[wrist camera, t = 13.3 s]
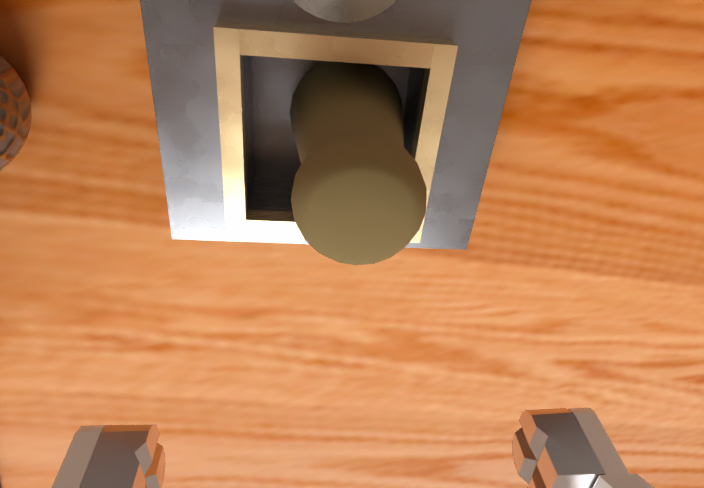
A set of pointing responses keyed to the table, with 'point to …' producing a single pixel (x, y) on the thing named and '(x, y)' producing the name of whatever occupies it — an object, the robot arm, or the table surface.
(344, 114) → the cork
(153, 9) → the grey rectangular box
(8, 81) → the vase
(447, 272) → the table surface
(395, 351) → the table surface
